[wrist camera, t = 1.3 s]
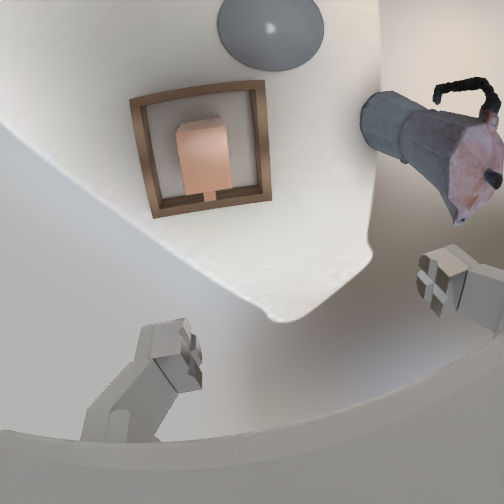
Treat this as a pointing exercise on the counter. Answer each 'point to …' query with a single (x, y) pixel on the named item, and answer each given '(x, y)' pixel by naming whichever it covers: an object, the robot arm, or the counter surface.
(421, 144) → the moka pot
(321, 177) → the counter surface
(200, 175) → the terracotta clay block
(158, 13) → the counter surface
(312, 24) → the slate coaster
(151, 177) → the frame
